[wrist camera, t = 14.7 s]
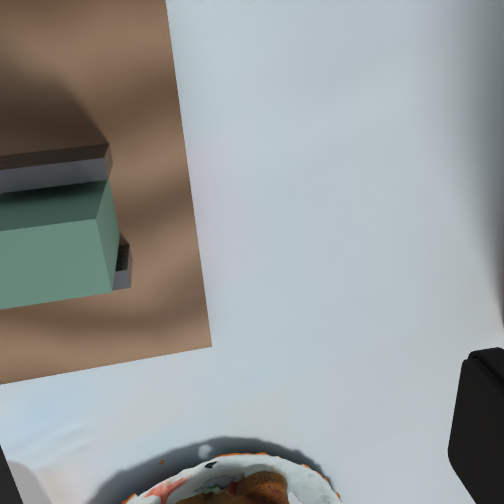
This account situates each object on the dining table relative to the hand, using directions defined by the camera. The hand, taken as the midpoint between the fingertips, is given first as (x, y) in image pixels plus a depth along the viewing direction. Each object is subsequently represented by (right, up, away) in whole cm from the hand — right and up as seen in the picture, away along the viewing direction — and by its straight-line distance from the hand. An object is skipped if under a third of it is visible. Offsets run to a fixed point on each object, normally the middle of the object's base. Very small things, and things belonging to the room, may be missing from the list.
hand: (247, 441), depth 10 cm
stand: (-12, +7, +22) cm, 26 cm away
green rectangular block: (-12, +6, +21) cm, 24 cm away
